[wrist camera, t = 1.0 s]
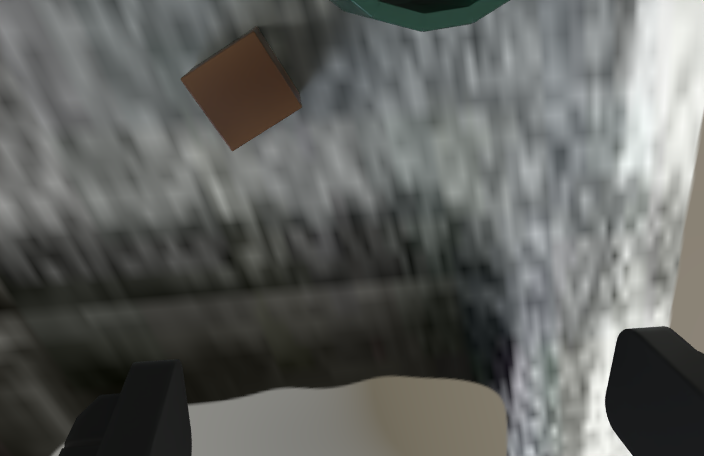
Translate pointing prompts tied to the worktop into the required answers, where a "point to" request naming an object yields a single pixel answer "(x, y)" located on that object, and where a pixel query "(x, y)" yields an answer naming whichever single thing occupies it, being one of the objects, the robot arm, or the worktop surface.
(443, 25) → the tin
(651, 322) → the worktop surface
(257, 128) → the block
